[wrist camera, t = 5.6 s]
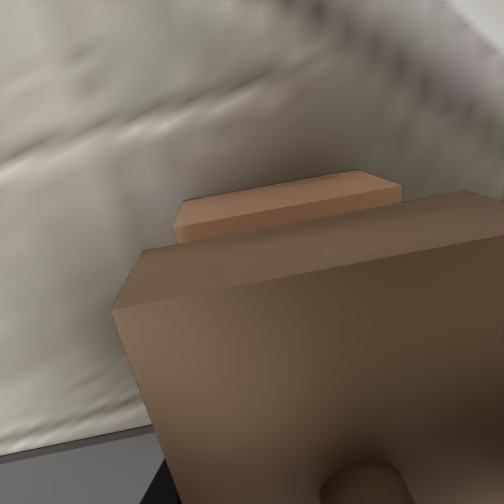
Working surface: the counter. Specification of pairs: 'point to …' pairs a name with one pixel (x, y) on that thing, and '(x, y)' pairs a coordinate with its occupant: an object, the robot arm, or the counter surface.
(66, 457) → the mat
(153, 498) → the robot arm
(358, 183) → the dish
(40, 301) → the counter surface
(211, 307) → the lid
